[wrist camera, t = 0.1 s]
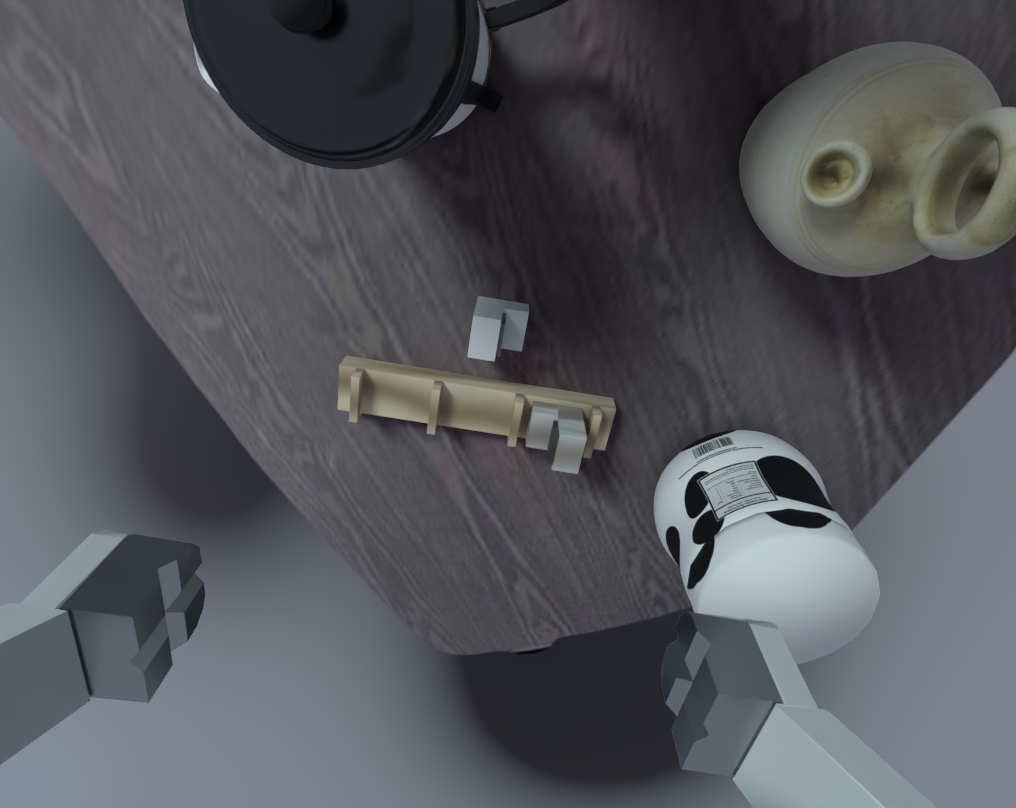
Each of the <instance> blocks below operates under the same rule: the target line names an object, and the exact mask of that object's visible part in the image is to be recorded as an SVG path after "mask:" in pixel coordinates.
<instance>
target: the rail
mask: <svg viewBox="0 0 1016 808" xmlns="http://www.w3.org/2000/svg"><path fill="white" fill-rule="evenodd" d="M338 410H345V411H350V412H349V421H350V422H356V423H357V422H358V420H359V418H360V416H361V414H362V413H364V414H370V415H377V416H383V417H390V418H396V419H403V420H409V421H416V422H422V423H428V427H427V433H428V434H435V432H436V428H437V425H442V426H448V427H455V428H461V429H468V430H474V431H481V432H487V433H494V434H500V435H507V436H508V444H507V446H513V447H515V446H516V440H517V437H519V438H526V447H531V448H537V449H544V450H548V464H549V465H552V470H556V471H562V472H569V473H575V474H578V471H579V467H580V463H581V459H582V455H583V457H584V458H591V456H592V452H593V449H597V450H604V451H605V448H606V444H607V441H608V437H609V433H610V430H611V426H612V423H613V419H614V416H615V412H616V406H615V403H614V400H613V398H609V397H603V396H597V395H591V394H584V393H578V392H572V391H565V390H559V389H553V388H547V387H540V386H534V385H528V384H521V383H515V382H509V381H503V380H496V379H490V378H484V377H477V376H471V375H465V374H459V373H452V372H446V371H440V370H433V369H427V368H421V367H415V366H408V365H402V364H396V363H390V362H383V361H377V360H371V359H364V358H358V357H352V356H345V358H344V359H343V361H342V362H341V363H340V365H339V386H338Z"/></svg>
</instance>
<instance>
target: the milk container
mask: <svg viewBox="0 0 1016 808" xmlns="http://www.w3.org/2000/svg"><path fill="white" fill-rule="evenodd" d="M654 517H655V524H656V528H657V531H658V535H659V537H660V540H661V542H662V544H663V546H664V548H665V550H666V551H667V552H668V554H669V555H670V557H671V558H672V559H673V561H674V562H675V563H676V564H677V566H678V567H679V569H680V572H681V576H682V579H683V583H684V587H685V590H686V593H687V595H688V598H689V599H690V601H691V604H692V607H693V610H694V613H702V614H710V615H718V616H725V617H733V618H740V619H750V620H758V621H766V622H772V623H773V624H775V625H776V626H777V627H778V629H779V631H780V633H781V635H782V637H783V639H784V641H785V643H786V645H787V647H788V649H789V651H790V653H791V655H792V657H793V659H794V661H795V663H796V664H801V663H805V662H808V661H811V660H813V659H816V658H819V657H822V656H825V655H828V654H830V653H832V652H834V651H835V650H837V649H838V648H840V647H842V646H843V645H845V644H846V643H848V642H849V641H851V640H852V639H854V638H855V637H856V636H857V635H858V634H859V633H860V631H861V630H862V629H863V628H864V627H865V626H866V625H867V624H868V622H869V621H870V620H871V619H872V617H873V615H874V612H875V609H876V606H877V603H878V601H879V598H880V589H879V582H878V575H877V572H876V569H875V567H874V565H873V563H872V562H871V560H870V558H869V556H868V555H867V554H866V552H865V551H864V549H863V548H862V547H861V546H860V544H859V543H858V542H857V540H856V539H855V537H854V535H853V533H852V531H851V530H850V528H849V527H848V526H847V524H846V523H845V522H844V521H843V520H842V518H841V517H840V516H839V515H838V514H837V513H836V511H835V510H834V509H833V508H832V506H831V505H830V501H829V498H828V494H827V491H826V488H825V486H824V483H823V481H822V479H821V477H820V475H819V474H818V472H817V471H816V469H815V468H814V467H813V465H812V464H811V463H810V462H809V461H808V459H807V458H805V457H804V456H803V455H802V454H801V453H800V452H799V451H798V450H796V449H795V448H794V447H792V446H791V445H789V444H788V443H786V442H785V441H783V440H781V439H779V438H777V437H775V436H772V435H770V434H766V433H762V432H757V431H748V430H732V431H726V432H720V433H715V434H712V435H709V436H706V437H704V438H702V439H700V440H698V441H696V442H694V443H692V444H690V445H688V446H687V447H686V448H684V449H683V450H682V451H681V452H680V453H679V454H677V455H676V456H675V457H674V458H673V459H672V460H671V461H670V462H669V464H668V465H667V467H666V468H665V470H664V471H663V473H662V475H661V477H660V479H659V481H658V483H657V486H656V490H655V495H654Z"/></svg>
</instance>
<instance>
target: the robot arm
mask: <svg viewBox="0 0 1016 808" xmlns="http://www.w3.org/2000/svg"><path fill="white" fill-rule="evenodd" d="M201 563H202V561H201V554H200V547H199V546H196V545H195V544H191V543H185V542H179V541H172V540H166V539H161V538H154V537H148V536H142V535H136V534H133V535H132V534H125V533H119V532H114V531H108V530H100V531H97V532H95V533H93V534H91V535H90V536H89V537H88V538H87V539H85V541H83V542H82V543H81V544H80V546H78V547H77V548H76V549H75V550H74V551H73V552H72V553H71V554H70V555H69V556H68V557H67V558H66V559H65V560H64V561H63V562H62V563H61V564H60V565H59V566H58V567H57V568H56V569H55V570H54V571H53V572H52V573H51V574H50V575H49V576H48V577H47V578H46V579H45V580H44V581H43V582H42V583H41V584H40V585H38V586H37V587H36V588H35V589H34V590H33V591H32V592H31V593H30V595H28V596H27V597H26V598H25V599H24V600H23V601H22V602H21V603H20V604H13V603H8V604H5V605H3V606H1V607H0V765H1V764H2V763H3V762H5V761H6V760H7V759H9V758H10V757H12V756H13V755H15V754H16V753H17V752H19V751H20V750H21V749H23V748H24V747H26V746H27V745H29V744H30V743H31V742H33V741H34V740H36V739H37V738H38V737H39V736H41V735H43V734H44V733H45V732H47V731H48V730H50V729H51V728H52V727H54V726H55V725H57V724H58V723H59V722H61V721H62V720H64V719H65V718H66V717H68V716H69V715H71V714H72V713H73V712H75V711H76V710H78V709H79V708H80V707H82V706H83V705H85V704H86V703H87V702H89V701H90V697H95V698H105V699H116V700H126V701H137V702H148V703H149V701H150V700H151V698H152V696H153V695H154V693H155V692H156V690H157V689H158V687H159V686H160V684H161V683H162V681H163V679H164V678H165V676H166V675H167V673H168V672H169V670H170V668H171V667H172V665H173V664H172V656H171V651H172V650H174V649H176V648H177V647H179V646H181V645H182V644H184V643H185V642H187V641H188V640H189V638H190V636H191V635H192V633H193V631H194V630H195V628H196V627H197V624H198V621H199V618H200V616H201V613H202V610H203V606H204V598H205V588H204V582H203V581H202V580H201V579H200V578H199V577H198V576H197V575H196V573H195V572H196V570H197V569H198V567H199V566H200V564H201ZM676 631H677V634H678V638H679V639H677V640H676V641H674V642H673V643H671V644H670V645H668V647H667V650H666V653H665V655H664V658H663V665H662V675H661V677H662V688H663V693H664V698H665V702H666V704H667V705H668V706H669V708H670V709H671V710H672V711H673V712H674V713H675V714H676V716H677V718H676V720H675V722H674V725H673V727H672V732H673V736H674V740H675V744H676V749H677V752H678V756H679V761H680V765H681V769H685V770H692V771H698V772H704V773H711V774H718V775H724V776H731V777H734V779H733V781H734V782H735V783H736V785H737V786H738V787H739V789H740V790H741V791H742V793H743V794H744V795H745V797H746V798H747V800H748V801H749V802H750V804H751V805H752V806H753V808H936V807H935V806H934V805H933V804H932V803H931V802H929V801H928V800H927V799H926V798H925V797H924V796H923V795H922V794H920V793H919V792H918V791H917V790H916V789H915V788H914V787H913V786H912V785H910V784H909V783H908V782H907V781H906V780H905V779H904V778H903V777H901V776H900V775H899V774H898V773H897V772H896V771H895V770H893V769H892V768H891V767H890V766H889V765H888V764H887V763H886V762H885V761H884V760H882V759H881V758H880V757H879V756H878V755H877V754H876V753H875V752H873V751H872V750H871V749H870V748H869V747H868V746H866V744H865V743H863V742H862V741H861V740H860V739H859V738H858V737H857V736H856V735H854V734H853V733H852V732H851V731H850V730H849V729H848V728H847V727H845V726H844V725H843V724H842V723H841V722H840V721H839V720H838V719H836V718H835V717H834V716H833V715H832V714H831V713H830V712H829V711H827V710H822V709H818V707H817V705H816V703H815V701H814V699H813V697H812V695H811V693H810V691H809V689H808V687H807V685H806V683H805V681H804V679H803V677H802V675H801V673H800V671H799V669H798V667H797V665H796V663H795V661H794V659H793V657H792V655H791V653H790V651H789V649H788V647H787V645H786V643H785V641H784V639H783V637H782V635H781V633H780V631H779V629H778V627H777V626H776V625H775V624H773V623H772V622H766V621H758V620H750V619H740V618H733V617H725V616H718V615H710V614H702V613H693V612H686V611H685V612H684V613H683V614H682V615H681V616H680V618H679V620H678V622H677V625H676Z"/></svg>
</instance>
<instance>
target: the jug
mask: <svg viewBox="0 0 1016 808" xmlns="http://www.w3.org/2000/svg"><path fill="white" fill-rule="evenodd" d="M739 178H740V185H741V189H742V192H743V196H744V199H745V201H746V204H747V206H748V208H749V210H750V212H751V215H752V217H753V219H754V220H755V222H756V224H757V225H758V227H759V228H760V230H761V231H762V233H763V234H764V235H765V237H766V238H767V239H768V240H769V241H770V242H771V244H772V245H773V246H774V247H775V248H776V249H777V250H778V251H779V252H781V253H782V254H783V255H784V256H786V257H787V258H788V259H790V260H791V261H793V262H794V263H796V264H798V265H800V266H802V267H804V268H806V269H809V270H812V271H815V272H818V273H822V274H826V275H832V276H840V277H861V276H871V275H877V274H882V273H886V272H890V271H894V270H897V269H900V268H903V267H906V266H908V265H911V264H913V263H916V262H918V261H920V260H922V259H924V258H926V257H928V256H929V255H931V254H932V255H934V256H936V257H938V258H942V259H947V260H965V259H971V258H976V257H979V256H983V255H985V254H988V253H990V252H992V251H994V250H996V249H997V248H999V247H1000V246H1002V245H1003V244H1004V243H1006V242H1007V241H1009V240H1010V239H1011V238H1012V237H1014V236H1015V235H1016V107H1002V105H1001V102H1000V99H999V97H998V95H997V93H996V91H995V89H994V88H993V86H992V84H991V83H990V81H989V80H988V79H987V77H986V76H985V75H984V74H983V73H982V71H981V70H980V69H979V68H977V67H976V66H975V65H974V64H973V63H972V62H970V61H969V60H967V59H966V58H964V57H962V56H961V55H959V54H957V53H955V52H953V51H951V50H948V49H945V48H943V47H939V46H935V45H931V44H925V43H917V42H888V43H880V44H875V45H870V46H866V47H862V48H859V49H856V50H853V51H851V52H848V53H846V54H843V55H841V56H839V57H837V58H835V59H833V60H831V61H829V62H827V63H825V64H823V65H821V66H820V67H818V68H816V69H814V70H813V71H811V72H810V73H808V74H806V75H804V76H802V77H801V78H799V79H797V80H796V81H794V82H793V83H791V84H790V85H788V86H787V87H786V88H784V89H783V90H782V91H781V92H779V93H778V94H777V95H776V96H775V97H774V98H773V99H771V100H770V101H769V102H768V103H767V104H766V105H765V106H764V107H763V109H762V110H761V111H760V112H759V114H758V115H757V117H756V118H755V120H754V121H753V123H752V124H751V126H750V128H749V130H748V132H747V134H746V137H745V139H744V142H743V145H742V149H741V153H740V159H739Z"/></svg>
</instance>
